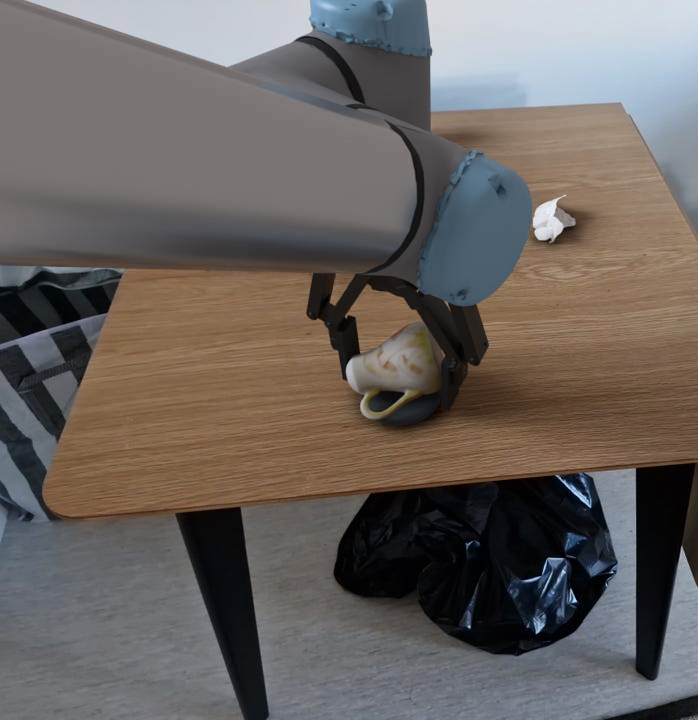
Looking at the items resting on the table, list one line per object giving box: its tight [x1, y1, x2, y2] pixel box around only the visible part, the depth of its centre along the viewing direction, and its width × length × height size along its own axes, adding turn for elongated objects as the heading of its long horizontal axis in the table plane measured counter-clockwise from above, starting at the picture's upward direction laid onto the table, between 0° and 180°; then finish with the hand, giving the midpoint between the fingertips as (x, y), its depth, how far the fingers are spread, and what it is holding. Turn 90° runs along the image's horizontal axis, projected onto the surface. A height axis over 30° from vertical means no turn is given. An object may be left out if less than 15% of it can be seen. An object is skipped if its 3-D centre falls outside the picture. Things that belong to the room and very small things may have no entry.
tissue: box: [532, 194, 577, 244], centre depth 93 cm, size 6×8×4 cm
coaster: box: [360, 390, 441, 427], centre depth 73 cm, size 8×8×1 cm
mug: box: [346, 320, 445, 421], centre depth 71 cm, size 8×10×10 cm
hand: (400, 386), depth 72 cm, fingers closed on mug, 10 cm apart
